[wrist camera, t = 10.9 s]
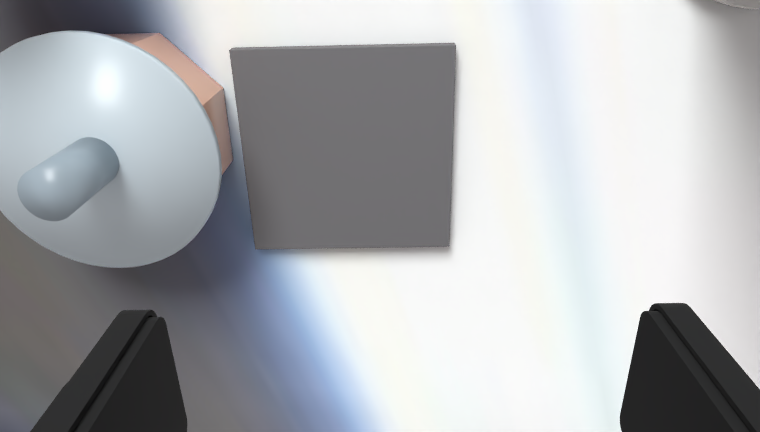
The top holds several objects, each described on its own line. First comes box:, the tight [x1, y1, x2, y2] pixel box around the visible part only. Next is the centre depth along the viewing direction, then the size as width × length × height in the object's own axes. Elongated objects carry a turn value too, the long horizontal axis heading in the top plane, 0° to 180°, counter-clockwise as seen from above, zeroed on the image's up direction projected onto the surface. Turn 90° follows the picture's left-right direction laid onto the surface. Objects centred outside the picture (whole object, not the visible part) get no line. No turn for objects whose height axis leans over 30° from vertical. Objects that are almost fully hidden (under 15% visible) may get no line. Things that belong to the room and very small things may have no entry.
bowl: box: [106, 33, 233, 175], centre depth 36 cm, size 12×12×6 cm
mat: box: [229, 43, 456, 249], centre depth 39 cm, size 14×14×1 cm
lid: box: [0, 30, 222, 268], centre depth 30 cm, size 14×14×6 cm
